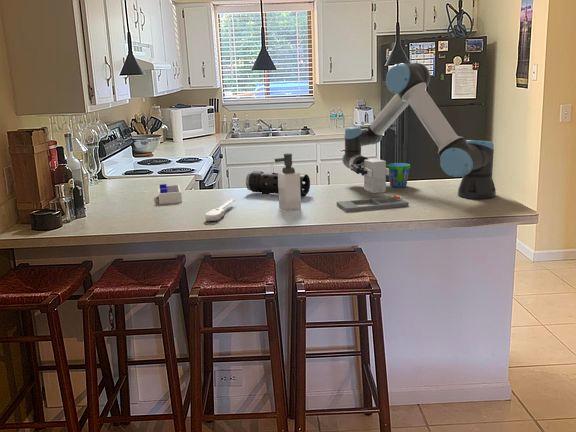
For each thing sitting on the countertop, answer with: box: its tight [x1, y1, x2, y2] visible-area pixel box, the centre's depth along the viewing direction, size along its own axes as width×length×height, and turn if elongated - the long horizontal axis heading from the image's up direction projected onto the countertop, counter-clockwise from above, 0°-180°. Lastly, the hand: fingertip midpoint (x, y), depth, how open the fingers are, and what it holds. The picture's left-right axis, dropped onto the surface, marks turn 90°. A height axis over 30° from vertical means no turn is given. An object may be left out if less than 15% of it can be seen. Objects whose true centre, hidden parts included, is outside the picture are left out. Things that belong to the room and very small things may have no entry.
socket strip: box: [336, 194, 410, 213], centre depth 230 cm, size 26×12×2 cm, turn 103°
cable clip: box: [158, 183, 168, 193], centre depth 256 cm, size 12×4×6 cm, turn 14°
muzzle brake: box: [245, 170, 311, 198], centre depth 255 cm, size 10×28×10 cm, turn 64°
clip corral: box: [157, 184, 183, 205], centre depth 256 cm, size 10×18×4 cm, turn 13°
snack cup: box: [386, 162, 411, 188], centre depth 264 cm, size 16×10×10 cm
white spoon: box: [204, 198, 236, 222], centre depth 227 cm, size 28×6×3 cm, turn 167°
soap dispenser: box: [274, 153, 302, 212], centre depth 228 cm, size 6×9×22 cm
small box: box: [363, 158, 387, 194], centre depth 243 cm, size 8×6×13 cm
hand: (379, 172), depth 237 cm, fingers closed on small box, 7 cm apart
